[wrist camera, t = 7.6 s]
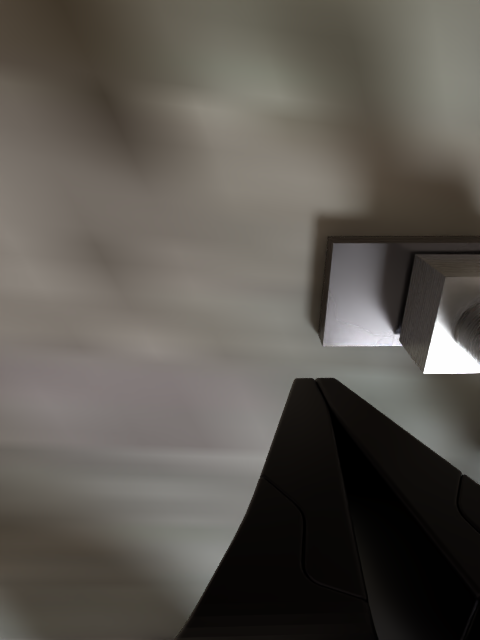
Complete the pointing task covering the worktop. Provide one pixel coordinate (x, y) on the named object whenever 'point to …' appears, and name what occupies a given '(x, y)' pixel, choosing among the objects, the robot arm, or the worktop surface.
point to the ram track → (374, 285)
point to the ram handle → (443, 313)
